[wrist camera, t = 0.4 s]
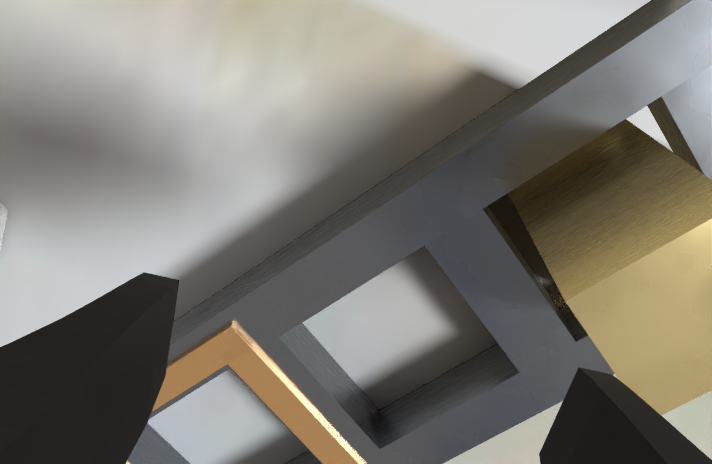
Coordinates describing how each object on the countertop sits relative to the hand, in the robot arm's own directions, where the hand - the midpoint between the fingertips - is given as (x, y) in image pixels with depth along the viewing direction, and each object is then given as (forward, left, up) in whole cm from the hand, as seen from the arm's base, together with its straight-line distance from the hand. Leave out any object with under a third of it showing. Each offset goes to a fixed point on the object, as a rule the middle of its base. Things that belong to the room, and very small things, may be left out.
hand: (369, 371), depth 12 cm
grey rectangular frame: (-5, +2, -10) cm, 11 cm away
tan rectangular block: (-5, -5, -10) cm, 12 cm away
